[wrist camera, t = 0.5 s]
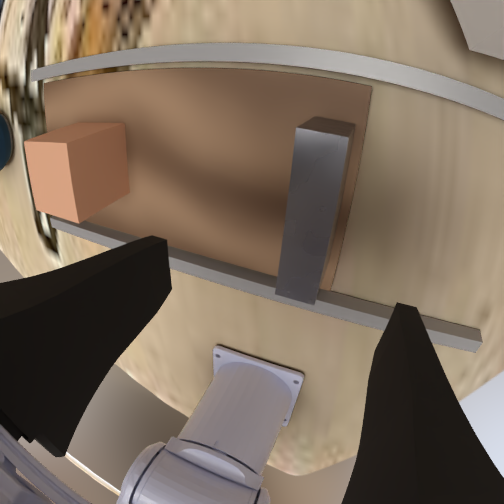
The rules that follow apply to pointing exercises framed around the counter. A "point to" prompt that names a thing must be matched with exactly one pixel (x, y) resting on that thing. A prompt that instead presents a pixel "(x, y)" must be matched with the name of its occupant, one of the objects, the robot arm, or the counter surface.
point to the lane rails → (300, 57)
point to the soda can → (5, 141)
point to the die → (482, 25)
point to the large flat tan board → (231, 163)
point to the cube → (78, 169)
